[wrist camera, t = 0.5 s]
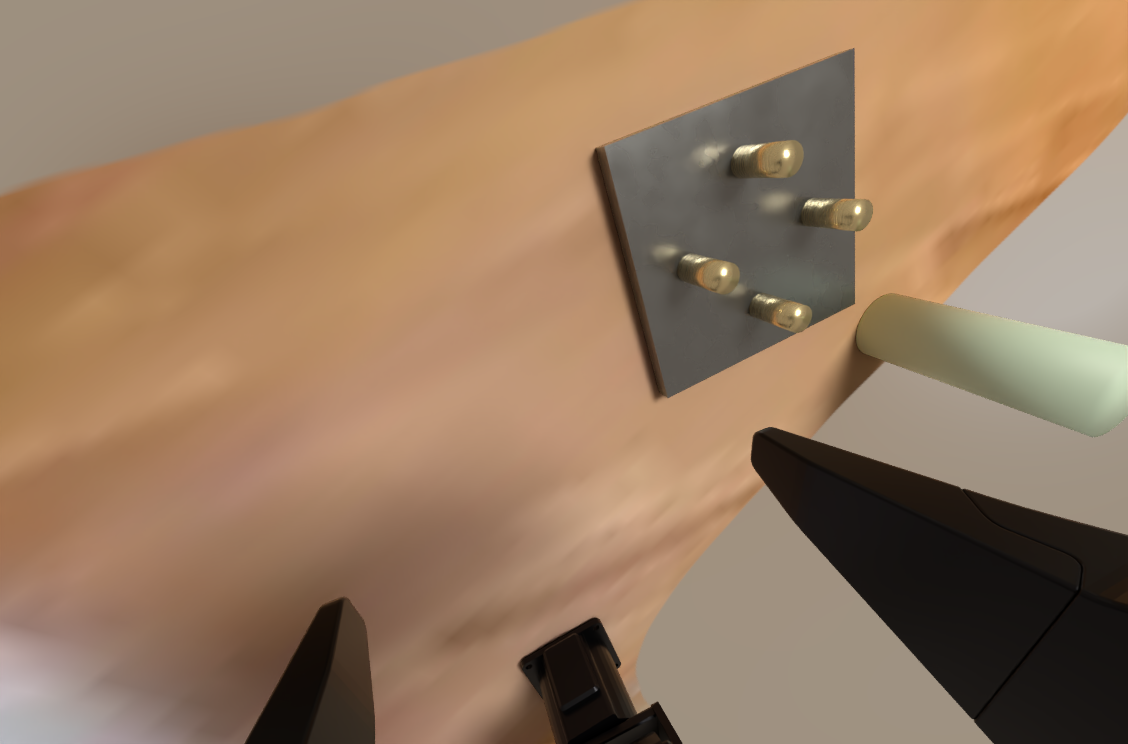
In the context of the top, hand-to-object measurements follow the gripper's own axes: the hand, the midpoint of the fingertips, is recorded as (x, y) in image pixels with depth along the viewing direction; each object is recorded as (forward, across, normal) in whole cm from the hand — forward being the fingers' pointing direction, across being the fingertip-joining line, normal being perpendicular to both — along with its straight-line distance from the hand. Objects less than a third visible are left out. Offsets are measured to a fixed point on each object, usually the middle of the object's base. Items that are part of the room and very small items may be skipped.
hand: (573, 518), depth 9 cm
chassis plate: (+14, -16, +1) cm, 21 cm away
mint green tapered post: (+14, -28, +10) cm, 32 cm away
